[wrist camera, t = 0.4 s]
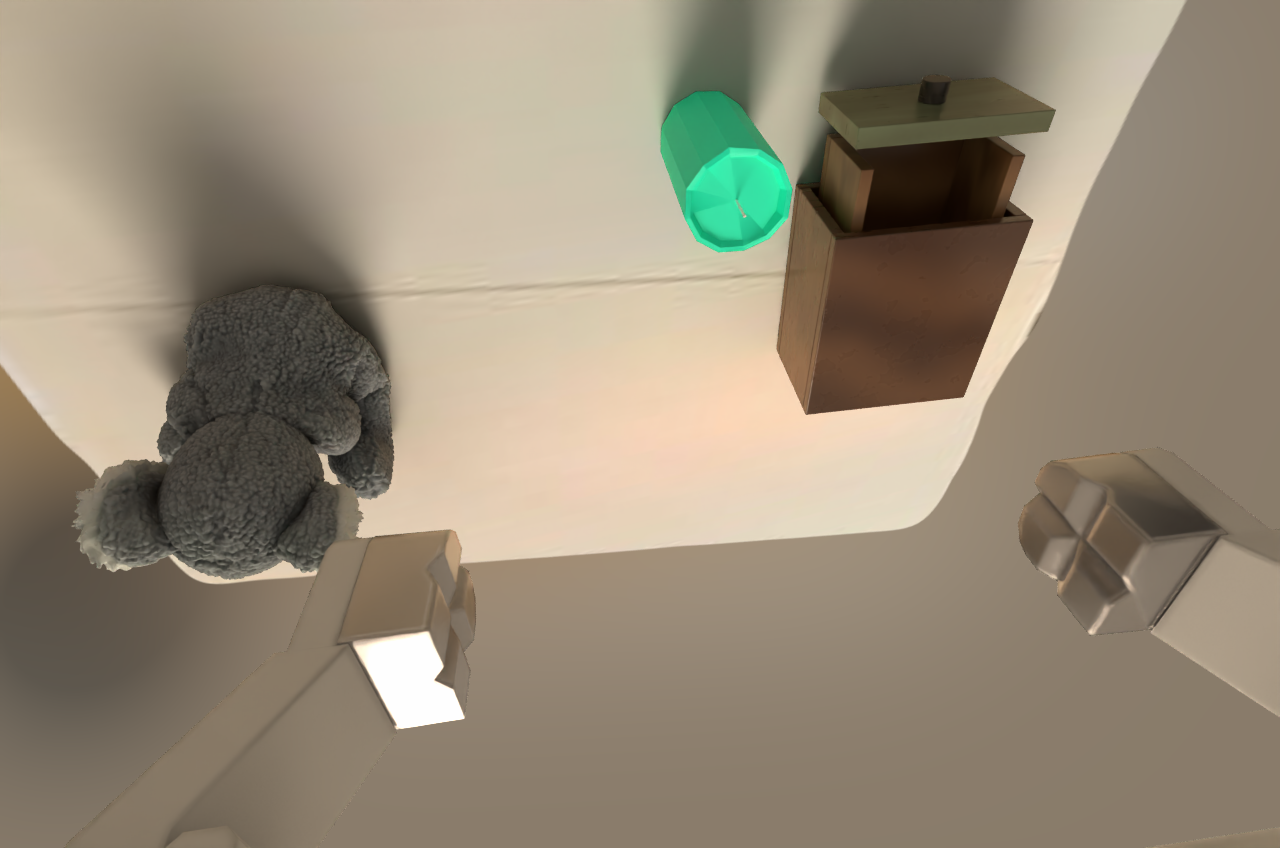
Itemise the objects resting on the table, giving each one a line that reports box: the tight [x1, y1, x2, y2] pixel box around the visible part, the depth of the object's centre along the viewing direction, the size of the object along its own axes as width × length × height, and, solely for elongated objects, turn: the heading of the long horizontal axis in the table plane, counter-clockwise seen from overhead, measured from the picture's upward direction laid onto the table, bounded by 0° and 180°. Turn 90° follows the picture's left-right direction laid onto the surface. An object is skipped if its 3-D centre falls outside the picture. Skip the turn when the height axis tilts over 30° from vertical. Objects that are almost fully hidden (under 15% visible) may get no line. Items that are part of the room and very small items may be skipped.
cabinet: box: [777, 182, 1033, 415], centre depth 47 cm, size 15×13×9 cm
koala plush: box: [72, 284, 394, 580], centre depth 44 cm, size 17×18×20 cm
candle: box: [661, 91, 792, 252], centre depth 38 cm, size 6×6×12 cm
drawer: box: [818, 75, 1056, 233], centre depth 42 cm, size 15×11×7 cm
